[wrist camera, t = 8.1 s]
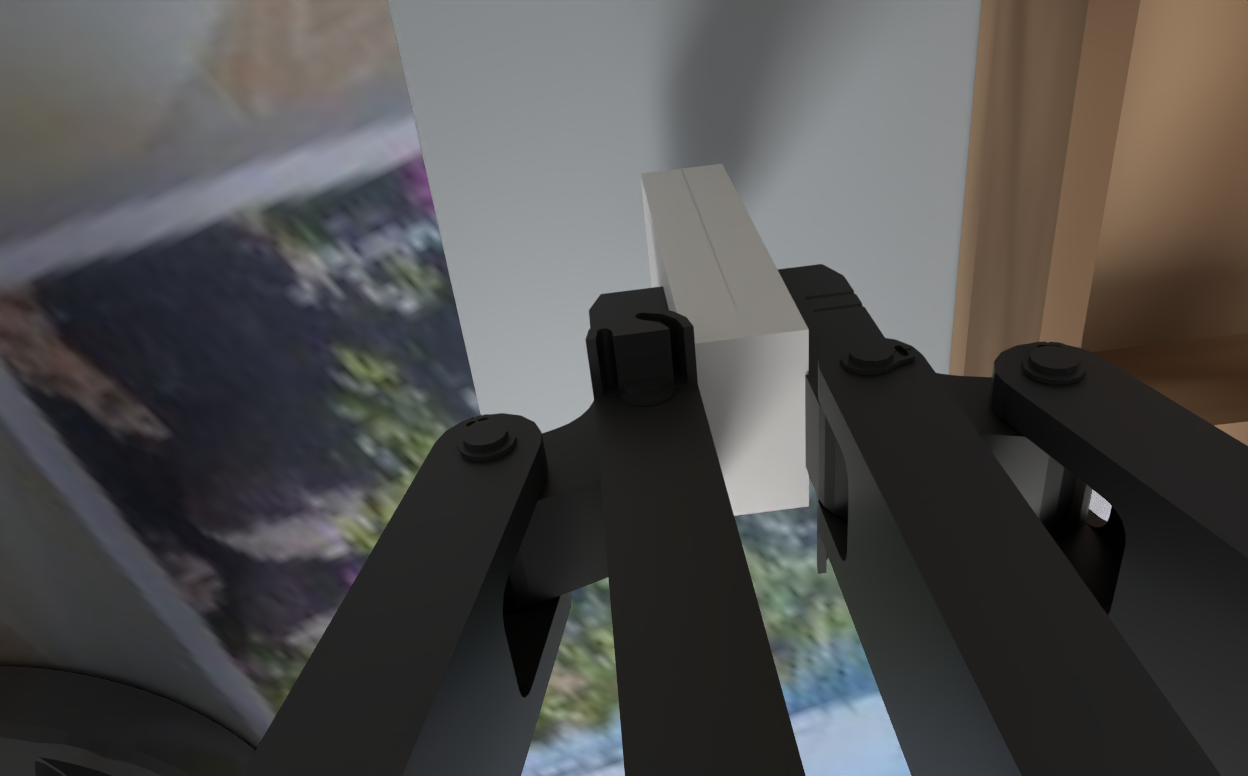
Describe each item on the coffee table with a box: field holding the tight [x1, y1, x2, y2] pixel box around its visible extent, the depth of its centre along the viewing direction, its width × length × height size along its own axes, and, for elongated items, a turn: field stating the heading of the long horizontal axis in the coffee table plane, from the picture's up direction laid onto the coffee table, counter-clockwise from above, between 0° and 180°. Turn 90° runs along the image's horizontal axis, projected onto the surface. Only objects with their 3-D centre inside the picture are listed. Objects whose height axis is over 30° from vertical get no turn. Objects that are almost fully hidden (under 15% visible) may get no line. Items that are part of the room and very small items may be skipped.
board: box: [388, 0, 982, 433], centre depth 17 cm, size 22×10×5 cm, turn 96°
